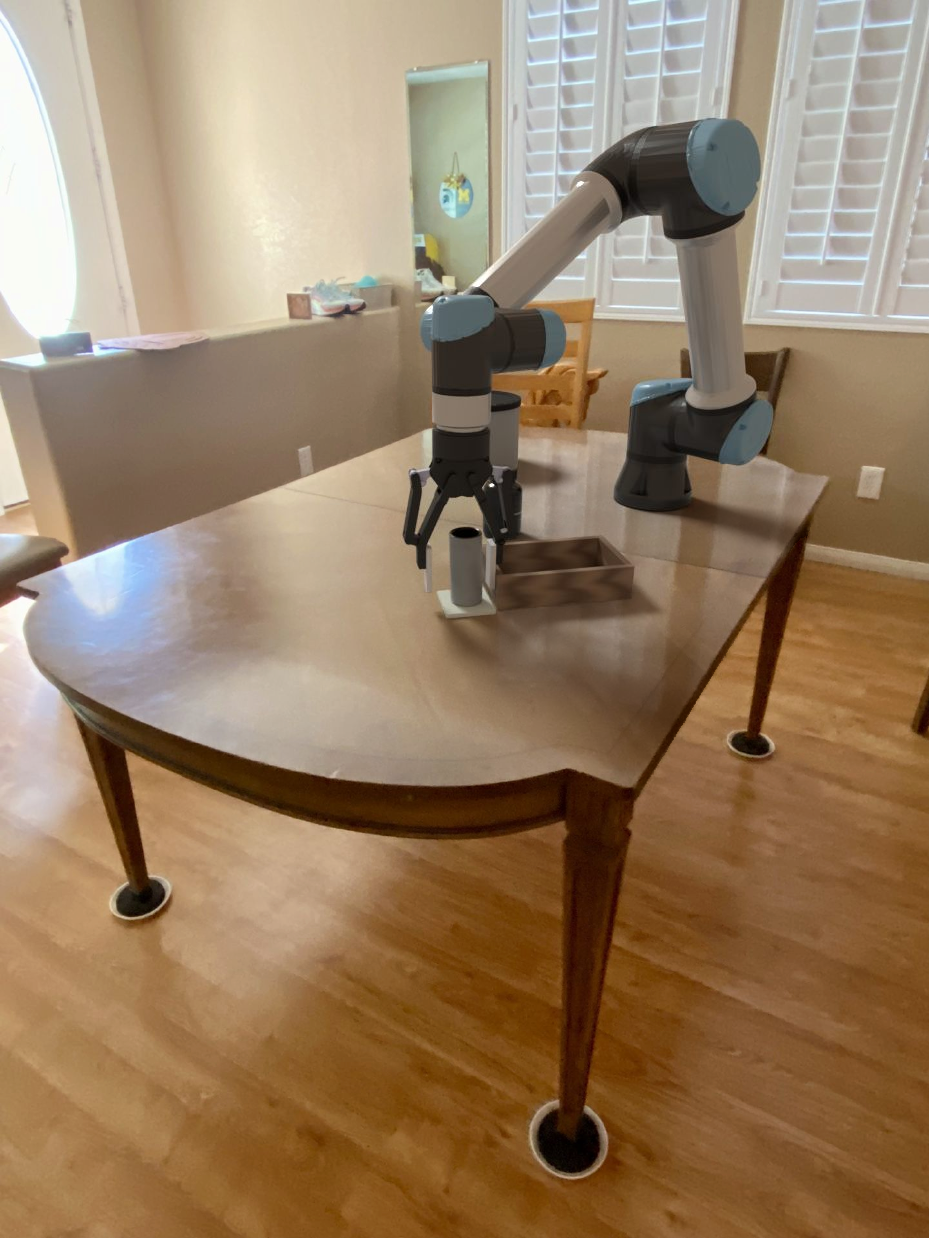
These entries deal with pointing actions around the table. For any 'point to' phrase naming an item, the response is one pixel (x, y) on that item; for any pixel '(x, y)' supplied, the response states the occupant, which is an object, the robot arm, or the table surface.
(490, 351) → the robot arm
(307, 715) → the table surface
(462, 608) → the coaster
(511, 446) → the container
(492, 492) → the supplement bottle
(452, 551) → the gray cylindrical cup
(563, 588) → the box frame
